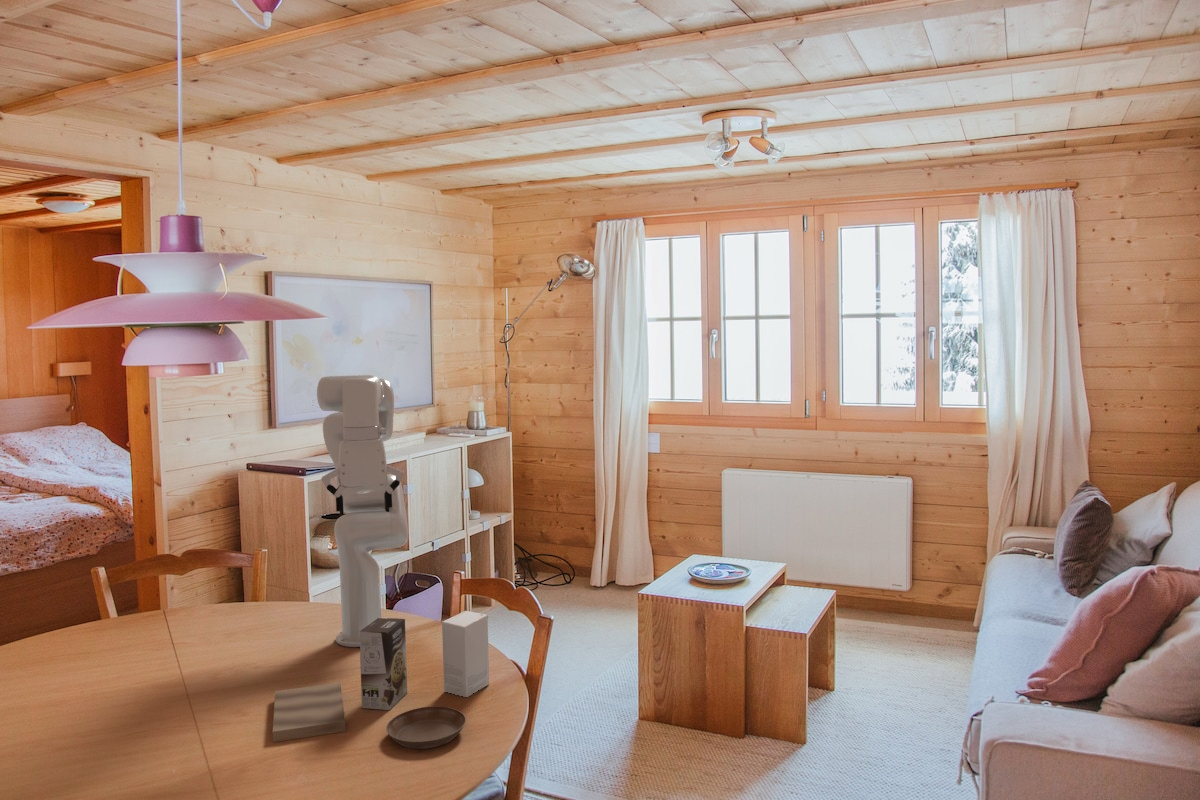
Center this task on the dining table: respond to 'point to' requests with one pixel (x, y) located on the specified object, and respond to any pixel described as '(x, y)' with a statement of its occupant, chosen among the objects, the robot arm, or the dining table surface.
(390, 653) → the coffee box
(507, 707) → the dining table surface
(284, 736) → the grey-brown rectangular board
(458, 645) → the skincare box
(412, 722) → the saucer
